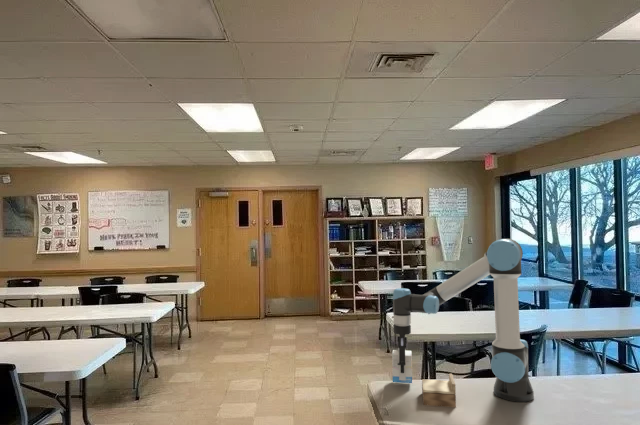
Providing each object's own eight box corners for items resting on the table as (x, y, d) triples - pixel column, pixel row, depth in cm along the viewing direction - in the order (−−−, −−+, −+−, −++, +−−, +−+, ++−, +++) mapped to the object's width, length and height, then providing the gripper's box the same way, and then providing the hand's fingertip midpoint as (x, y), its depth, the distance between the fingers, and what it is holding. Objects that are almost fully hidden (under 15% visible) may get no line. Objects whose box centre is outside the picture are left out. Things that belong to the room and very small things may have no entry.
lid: (452, 383, 174) (452, 373, 174) (455, 394, 162) (455, 384, 162) (422, 381, 176) (422, 371, 176) (423, 392, 164) (423, 382, 165)
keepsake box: (452, 397, 174) (452, 383, 174) (455, 409, 162) (455, 395, 162) (422, 395, 176) (422, 381, 176) (423, 407, 164) (423, 392, 164)
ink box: (412, 383, 181) (411, 351, 181) (392, 382, 182) (392, 350, 183) (412, 376, 189) (411, 346, 189) (392, 375, 191) (392, 345, 191)
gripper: (393, 318, 198) (394, 367, 197) (392, 329, 177) (393, 384, 176) (410, 319, 196) (410, 368, 195) (411, 330, 175) (411, 385, 174)
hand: (402, 376), depth 186 cm, fingers closed on ink box, 8 cm apart
